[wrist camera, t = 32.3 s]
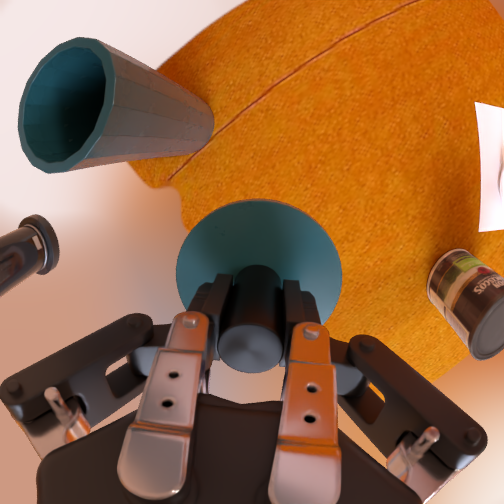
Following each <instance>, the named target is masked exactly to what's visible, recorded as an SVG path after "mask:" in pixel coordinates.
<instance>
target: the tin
mask: <svg viewBox="0 0 504 504" xmlns="http://www.w3.org/2000/svg"><path fill="white" fill-rule="evenodd" d="M213 129H214V116H213V113H212V111H211V109H210V107H209V106H208V105H207V104H206V103H205V102H204V101H203V100H202V99H201V98H199V97H198V96H196V95H195V94H193V93H192V92H190V91H188V90H187V89H185V88H184V87H182V86H180V85H179V84H177V83H176V82H174V81H172V80H171V79H169V78H167V77H166V76H164V75H162V74H161V73H159V72H157V71H156V70H154V69H152V68H150V67H149V66H147V65H145V64H143V63H142V62H139V61H138V60H136V59H134V58H132V57H131V56H129V55H127V54H125V53H123V52H121V51H119V50H117V49H115V48H113V47H111V46H109V45H107V44H105V43H103V42H101V41H99V40H97V39H92V38H84V37H77V38H74V39H71V40H69V41H66V42H64V43H61V44H59V45H58V46H56V47H55V48H54V49H53V50H52V51H51V52H50V53H48V54H47V55H46V56H45V57H44V58H43V59H42V60H41V61H40V62H39V64H38V65H37V67H36V68H35V70H34V71H33V73H32V74H31V76H30V78H29V79H28V81H27V83H26V86H25V89H24V92H23V95H22V98H21V102H20V105H19V116H18V132H19V137H20V142H21V146H22V150H23V152H24V153H25V155H26V156H27V158H28V160H29V161H30V162H31V164H32V165H33V166H34V167H36V168H38V169H40V170H42V171H44V172H45V173H50V174H51V173H60V172H68V171H73V170H78V169H83V168H88V167H94V166H100V165H106V164H112V163H118V162H125V161H133V160H140V159H148V158H157V157H167V156H177V155H188V154H190V153H193V152H196V151H198V150H199V149H201V148H202V147H203V146H204V145H205V144H206V143H207V142H208V141H209V139H210V137H211V135H212V133H213Z"/></svg>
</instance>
